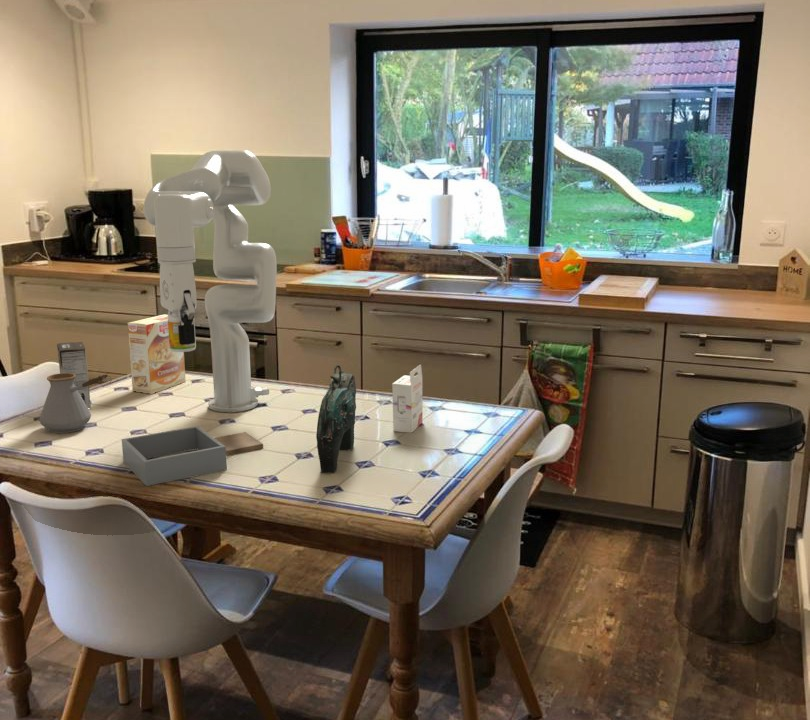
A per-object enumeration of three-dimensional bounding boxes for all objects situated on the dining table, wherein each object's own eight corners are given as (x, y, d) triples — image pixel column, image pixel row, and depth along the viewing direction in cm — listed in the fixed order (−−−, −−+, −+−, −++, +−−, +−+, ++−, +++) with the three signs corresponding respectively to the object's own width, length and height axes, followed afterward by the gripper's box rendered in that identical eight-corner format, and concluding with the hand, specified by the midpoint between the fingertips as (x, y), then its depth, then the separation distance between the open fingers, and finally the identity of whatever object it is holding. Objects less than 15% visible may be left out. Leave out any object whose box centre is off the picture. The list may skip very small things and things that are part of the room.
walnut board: (245, 436, 196) (245, 432, 195) (263, 448, 187) (262, 443, 187) (203, 443, 190) (203, 439, 190) (220, 456, 182) (219, 452, 182)
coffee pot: (29, 431, 200) (23, 369, 196) (69, 418, 210) (63, 359, 206) (93, 445, 190) (87, 380, 186) (132, 431, 200) (127, 369, 196)
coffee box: (62, 402, 223) (56, 343, 220) (88, 400, 226) (82, 340, 222) (64, 411, 215) (58, 350, 212) (91, 408, 218) (85, 347, 214)
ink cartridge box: (403, 421, 207) (403, 362, 203) (423, 423, 205) (423, 363, 202) (391, 431, 199) (391, 370, 195) (411, 433, 197) (411, 372, 194)
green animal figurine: (336, 442, 191) (334, 356, 186) (364, 444, 190) (362, 357, 185) (311, 473, 172) (308, 378, 167) (342, 475, 171) (340, 379, 166)
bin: (199, 447, 188) (197, 425, 187) (226, 469, 174) (225, 446, 173) (123, 461, 179) (121, 439, 178) (146, 486, 166) (144, 462, 165)
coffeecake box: (151, 394, 231) (146, 324, 226) (131, 391, 234) (125, 322, 229) (187, 381, 244) (182, 315, 240) (167, 379, 247) (162, 313, 243)
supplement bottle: (173, 347, 181) (170, 302, 179) (198, 346, 181) (195, 301, 179) (167, 352, 176) (163, 306, 173) (193, 352, 176) (190, 306, 174)
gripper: (146, 252, 179) (152, 336, 183) (171, 260, 165) (178, 351, 169) (180, 250, 183) (186, 332, 187) (208, 257, 169) (214, 346, 173)
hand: (182, 340), depth 178 cm, fingers closed on supplement bottle, 5 cm apart
